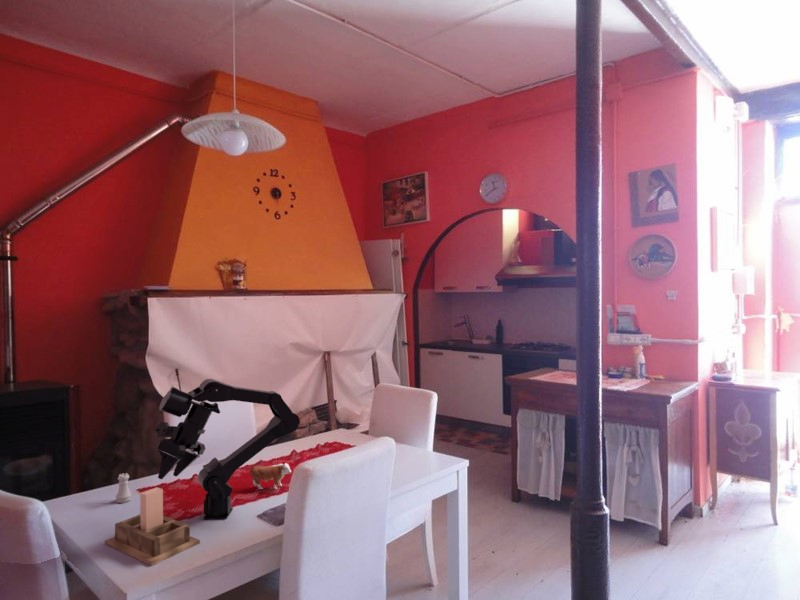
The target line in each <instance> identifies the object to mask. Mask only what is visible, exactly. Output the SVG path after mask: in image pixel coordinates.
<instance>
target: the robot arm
mask: <svg viewBox="0 0 800 600" xmlns="http://www.w3.org/2000/svg"><path fill="white" fill-rule="evenodd" d="M229 401H231V402H232V401H235V402H245V403H250V404H251V403H252V404H259V405H267V406H268V407H269V409H270V410H271V413H272V414H273V417H272V418H271V419H270V420H269V422H268V424H267V425H266V427H265V428H264V429H262V430H260V431H259V433H257V434H256V435H254V436H253V437H252V438H250V439H249V440H248V441H246V442H245V443H244V444H242V445H241V446H240V447H238V448H237V449H235V450H234V451H233V452H232V453H230V454H229V455H227V456H226V457H225V458H223V459H218V458H217V457H214V458H212V459H211V460H210V461H209V462H207V463H205V464H202V468H201V470H200V471H199V472H198V475H197V481H198V482H199V483H198V484H199V485H200V486H201V487H202V489H203V490H204V491H205V492H207V493H206V494H205V498H204V500H203V515H204V516H203V519H204V520H226V519H228V517H229V516H230V515H231V513H232V512H233V511H234V510H233V507H232V492H233V488H232V487H231V485H230V483H228V482H229V480H230V479H231V477H233V474H234V473H235V472H236V471H237V470H238V469H239V468H241V467H242V466H243V465H245V463H247V462H248V461H249V460H251V459H252V458H254V457H255V456H256V455H257V454H259V453H260V452H262V451H263V450H264V449H265V448H266V447H268V446H269V445H271V444H272V443H273V442H274V441H276V440H279V439H281V438H284V437H287V436H289V435H291V434H292V433H294V432H296V431H297V430H298V429H299V427H300V423H301V419H300V417H299V416H298V414H296V413H294V412H293V410H292V409H291V408H290V407H289V406H288V404H287V403H286V402H285V401H284V399H283V397H282V395H281V394H280V393H278V392H276V391H273V390H270V391H269V390H262V389H255V388H254V389H253V388H245V387H239V386H233V385H231V384H227V383H226V382H223V381H219V380H216V379H213V378H207V379H205V380H203V381H202V382H201V383H200V384H199V386H197V387H195V388H194V389H192V390H191V391H189V392H185V391H182V390H180V389H178V388H176V387H174V386H171V387H170V389H169V390H168V391H167V392H166V393H165V395H164V396H163V397H162V399H161V402H160V404H159V407H158V409H159V411H161V412H163V413H167V414H169V415H171V416H175V417H178V418H181V417H182V416H185V418H184V420H183V421H180V422H179V423H178V424H177V425H176V426H175V425H169V422H162V421H160V422H159V423H158V425H156V427H155V428H154V432H155V433H156V434H155V438H163V439H161V440H159V441H158V443H157V445H156V447H155V448H156V449H157V452H158V453H159V455H160V458H161V459H160V466H159V470H158V475H157V478H158V479H159V480H163V479H164V478H165V477H166V476H167V475H168V474H169V473H170V472H171V471H172V470H173V468H174V467H175V468H174V470H173V474H172V475H173V476H174V477H178V476H179V475H181V473H183V472H184V470H186V468H188V467H189V466H190V465H192V463H193V462H195V461H196V460H197V459H198V458H200V456H201V455H203V454H204V452H205V451H206V446H205V444H204V443H202V442H200V441H199V439H200V438H201V436H202V435H204V434H205V432H206V430H205V426H206V425H207V423H208V421H209V419H210V417H211V415H212V413H216V414H221V411H220V408H219V404H218V403H222V402H223V403H224V402H229Z"/></svg>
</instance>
